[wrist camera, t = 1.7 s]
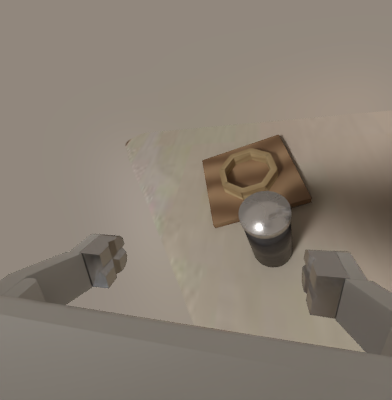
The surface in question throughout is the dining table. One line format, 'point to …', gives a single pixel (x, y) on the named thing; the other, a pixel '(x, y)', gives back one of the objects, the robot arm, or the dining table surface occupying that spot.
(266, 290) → the dining table surface
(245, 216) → the canister
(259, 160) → the mount
